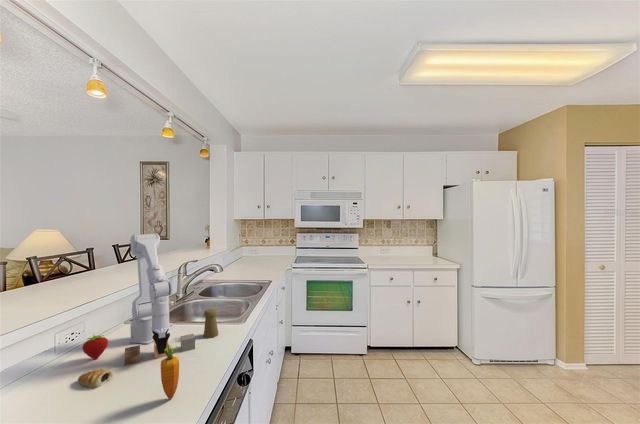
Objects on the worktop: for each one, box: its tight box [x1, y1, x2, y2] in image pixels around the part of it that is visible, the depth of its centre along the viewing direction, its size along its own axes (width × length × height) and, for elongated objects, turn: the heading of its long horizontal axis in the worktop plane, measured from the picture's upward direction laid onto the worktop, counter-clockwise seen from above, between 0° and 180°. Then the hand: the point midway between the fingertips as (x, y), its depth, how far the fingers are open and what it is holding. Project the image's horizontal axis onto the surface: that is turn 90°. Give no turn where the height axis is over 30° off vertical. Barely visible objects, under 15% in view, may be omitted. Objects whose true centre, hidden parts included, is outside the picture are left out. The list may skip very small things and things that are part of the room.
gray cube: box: [180, 333, 196, 353], centre depth 114 cm, size 4×4×4 cm
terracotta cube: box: [153, 340, 170, 359], centre depth 110 cm, size 4×4×4 cm
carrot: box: [160, 344, 180, 400], centre depth 83 cm, size 5×5×15 cm
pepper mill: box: [203, 308, 219, 339], centre depth 126 cm, size 6×6×11 cm
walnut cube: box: [124, 344, 141, 367], centre depth 105 cm, size 4×4×4 cm
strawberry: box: [82, 333, 109, 360], centre depth 107 cm, size 6×8×10 cm
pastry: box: [77, 368, 114, 389], centre depth 93 cm, size 9×7×4 cm
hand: (161, 350), depth 110 cm, fingers closed on terracotta cube, 4 cm apart
